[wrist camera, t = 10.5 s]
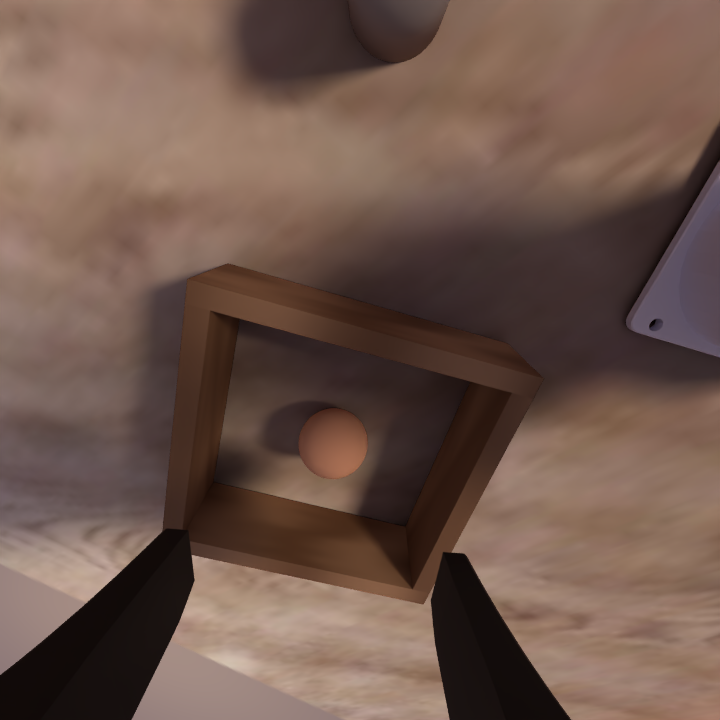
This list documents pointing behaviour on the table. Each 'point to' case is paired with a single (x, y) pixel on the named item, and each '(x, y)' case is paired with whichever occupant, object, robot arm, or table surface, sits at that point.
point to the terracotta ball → (333, 443)
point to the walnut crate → (312, 523)
